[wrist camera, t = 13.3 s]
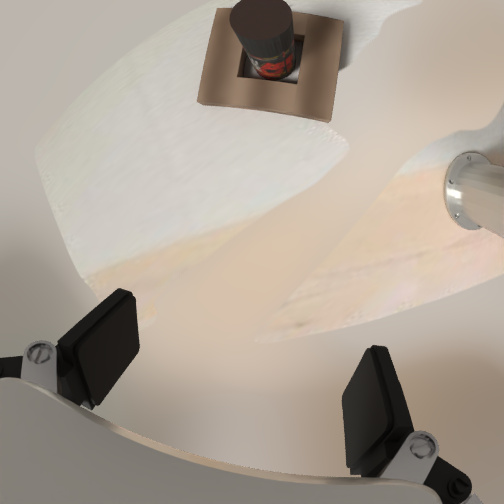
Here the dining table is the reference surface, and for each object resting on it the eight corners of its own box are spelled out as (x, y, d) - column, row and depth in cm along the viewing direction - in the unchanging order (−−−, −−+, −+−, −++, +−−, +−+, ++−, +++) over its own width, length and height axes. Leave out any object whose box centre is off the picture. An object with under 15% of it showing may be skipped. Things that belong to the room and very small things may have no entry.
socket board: (341, 29, 28) (343, 20, 26) (328, 122, 34) (330, 120, 31) (222, 16, 30) (217, 8, 27) (203, 105, 36) (196, 101, 33)
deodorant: (246, 71, 33) (218, 30, 19) (264, 40, 31) (245, -12, 17) (284, 86, 33) (276, 48, 19) (301, 54, 31) (302, 4, 17)
